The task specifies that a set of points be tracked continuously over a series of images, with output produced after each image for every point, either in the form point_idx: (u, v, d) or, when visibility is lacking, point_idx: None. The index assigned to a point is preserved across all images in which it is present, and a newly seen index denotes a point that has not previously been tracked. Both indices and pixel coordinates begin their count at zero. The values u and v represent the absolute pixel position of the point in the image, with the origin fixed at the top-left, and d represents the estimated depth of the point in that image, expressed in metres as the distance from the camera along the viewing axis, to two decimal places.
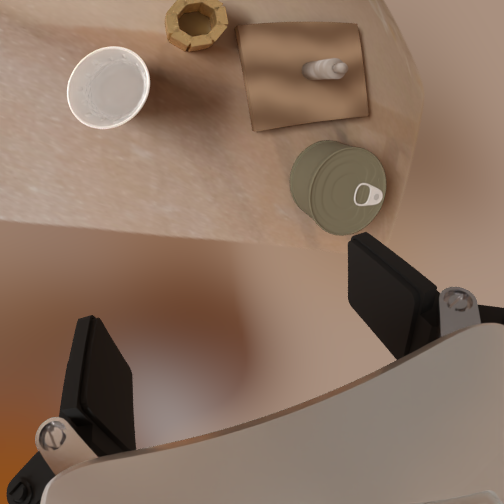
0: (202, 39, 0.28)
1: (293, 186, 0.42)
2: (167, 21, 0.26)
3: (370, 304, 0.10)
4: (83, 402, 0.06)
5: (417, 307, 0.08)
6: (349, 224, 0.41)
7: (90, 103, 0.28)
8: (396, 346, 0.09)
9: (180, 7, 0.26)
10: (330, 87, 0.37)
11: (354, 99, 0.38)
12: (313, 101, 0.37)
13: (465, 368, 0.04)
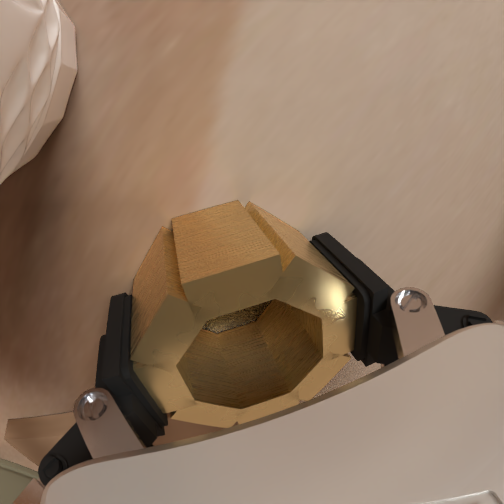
0: (168, 391, 0.08)
1: None
2: (248, 266, 0.07)
3: None
4: (124, 371, 0.07)
5: (368, 307, 0.08)
6: None
7: None
8: (354, 345, 0.10)
9: (312, 302, 0.08)
10: None
11: None
12: None
13: (465, 368, 0.04)
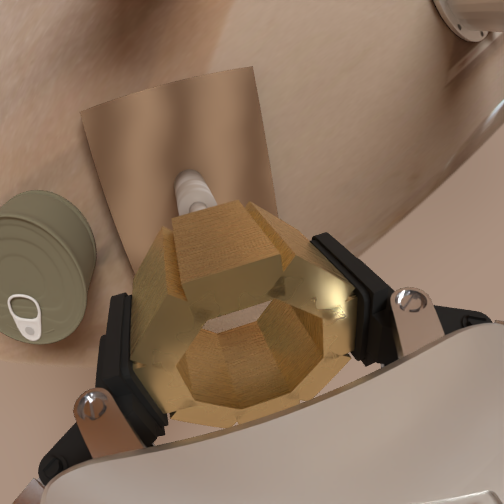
0: (168, 392, 0.08)
1: (18, 196, 0.21)
2: (248, 266, 0.07)
3: None
4: (124, 371, 0.07)
5: (368, 307, 0.08)
6: None
7: None
8: None
9: (313, 302, 0.08)
10: (168, 220, 0.26)
11: None
12: (139, 195, 0.25)
13: (465, 368, 0.04)
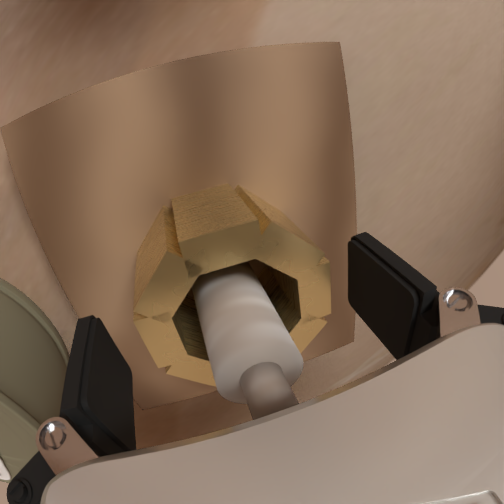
0: (165, 344, 0.10)
1: None
2: (232, 229, 0.09)
3: (370, 304, 0.10)
4: (83, 402, 0.06)
5: (417, 307, 0.08)
6: None
7: None
8: (396, 346, 0.09)
9: (288, 264, 0.10)
10: None
11: (167, 379, 0.16)
12: (123, 286, 0.13)
13: (465, 368, 0.04)
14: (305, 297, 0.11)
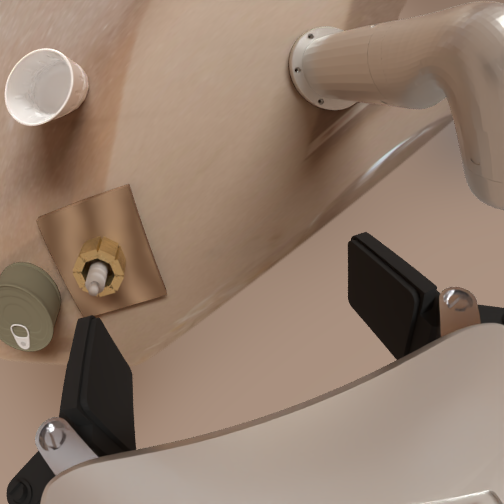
0: (80, 280, 0.36)
1: (13, 267, 0.36)
2: (91, 251, 0.35)
3: (370, 304, 0.10)
4: (83, 402, 0.06)
5: (417, 307, 0.08)
6: None
7: (45, 66, 0.25)
8: (396, 346, 0.09)
9: (106, 259, 0.36)
10: None
11: (92, 303, 0.43)
12: None
13: (465, 368, 0.04)
14: (113, 269, 0.37)
